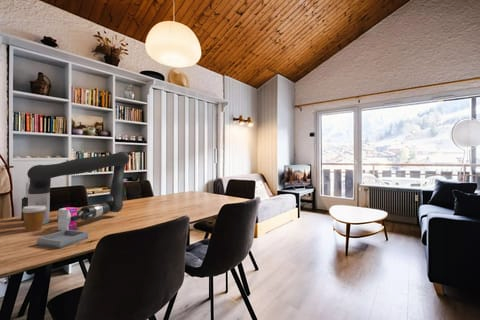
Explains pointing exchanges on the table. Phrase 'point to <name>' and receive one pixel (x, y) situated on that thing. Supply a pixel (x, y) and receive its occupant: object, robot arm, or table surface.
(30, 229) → the disposable coffee cup
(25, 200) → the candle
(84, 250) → the table surface
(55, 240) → the tray
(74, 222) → the supplement box
